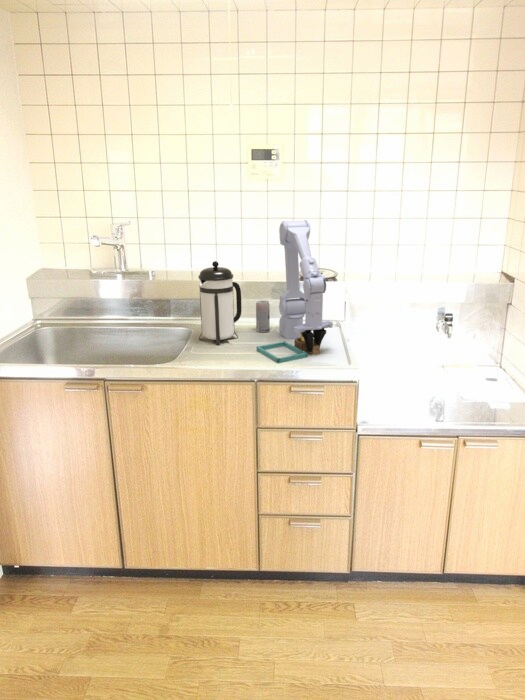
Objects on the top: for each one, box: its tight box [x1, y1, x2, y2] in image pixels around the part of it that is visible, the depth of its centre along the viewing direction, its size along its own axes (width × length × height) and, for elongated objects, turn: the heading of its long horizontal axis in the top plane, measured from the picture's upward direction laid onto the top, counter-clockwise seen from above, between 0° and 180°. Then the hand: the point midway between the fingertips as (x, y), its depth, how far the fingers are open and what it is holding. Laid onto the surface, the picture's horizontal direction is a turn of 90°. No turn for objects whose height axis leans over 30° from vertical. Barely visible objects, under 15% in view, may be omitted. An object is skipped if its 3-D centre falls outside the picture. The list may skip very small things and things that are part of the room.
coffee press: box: [197, 260, 242, 346], centre depth 194 cm, size 17×16×30 cm
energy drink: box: [255, 300, 271, 334], centre depth 205 cm, size 5×5×12 cm
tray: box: [256, 341, 309, 364], centre depth 178 cm, size 15×12×2 cm
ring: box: [294, 337, 320, 356], centre depth 181 cm, size 11×7×3 cm, turn 29°
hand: (313, 350), depth 178 cm, fingers closed on ring, 2 cm apart
